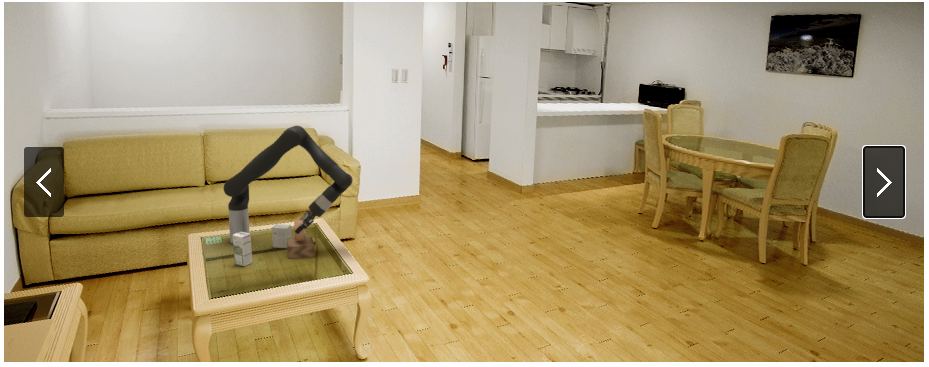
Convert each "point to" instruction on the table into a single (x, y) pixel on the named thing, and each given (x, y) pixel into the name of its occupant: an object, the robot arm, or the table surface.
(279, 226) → the small box
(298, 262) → the table surface
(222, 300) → the table surface
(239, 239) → the syrup box
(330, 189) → the robot arm
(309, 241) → the walnut block
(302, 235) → the terracotta cylinder
